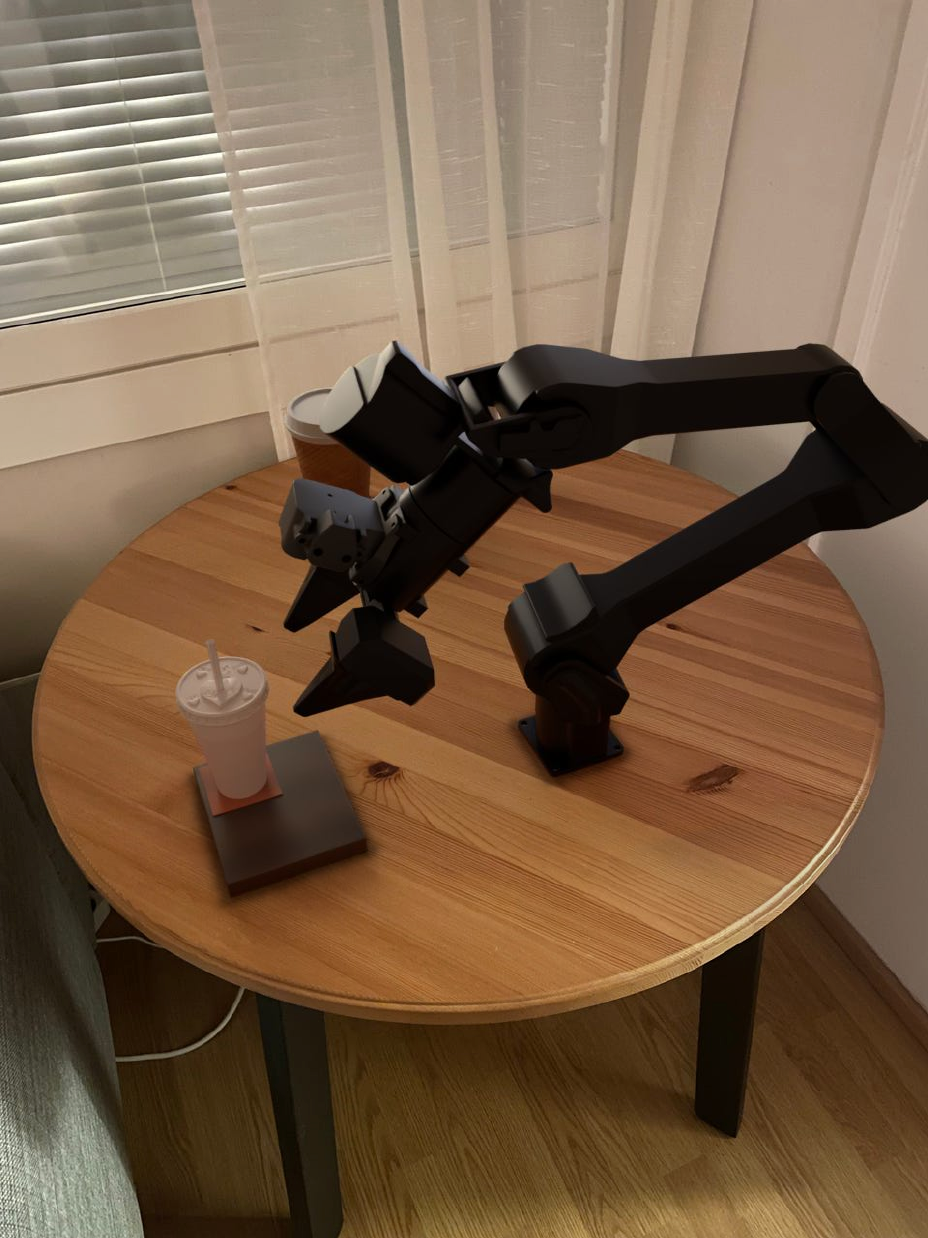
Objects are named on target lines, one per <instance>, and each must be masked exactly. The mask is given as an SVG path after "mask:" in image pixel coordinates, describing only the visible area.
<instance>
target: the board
mask: <svg viewBox="0 0 928 1238" xmlns="http://www.w3.org/2000/svg"><path fill="white" fill-rule="evenodd" d="M266 769H267V779H266V783H265V785H264V786H263V788H262V789H261V790H260V791H259V792H257V793H256V794H254V795H252V796H250V797H247V798H242V799H233V798H229V797H226V796H224V795H223V794H222V793H221V792H220V791H219V789H218V787H217V785H216V783H215V780H214V778H213V776H212V774H211V771H210V769H209V767H208V765H207V762H205V763H201V764H198V765H196V766H193V767H192V770H193V774H194V777H195V782H196V786H197V788H198V791H199V794H200V799H201V802H202V805H203V808H204V812H205V816H206V819H207V822H208V824H209V829H210V832H211V836H212V839H213V842H214V846H215V850H216V852H217V856H218V859H219V863H220V866H221V869H222V874H223V876H224V880H225V883H226V887H227V890H228V894H229V897H230V898H234V897H237V896H240V895H243V894H245V893H249V892H251V891H254V890H258V889H260V888H263V887H266V886H270V885H272V884H276V883H278V882H282V881H284V880H286V879H290V878H293V877H295V876H299V875H302V874H304V873H308V872H310V871H313V870H316V869H319V868H322V867H325V866H327V865H331V864H333V863H337V862H339V861H342V860H345V859H349V858H351V857H354V856H357V855H360V854H363V853H366V852H368V843H367V836H366V834H365V832H364V829H363V828H362V825H361V823H360V820H359V819H358V816H357V813H356V812H355V810H354V807H353V805H352V803H351V801H350V799H349V796H348V793H347V791H346V789H345V787H344V785H343V783H342V780H341V778H340V776H339V773H338V772H337V769H336V767H335V764H334V763H333V760H332V759H331V756H330V753H329V751H328V749H327V748H326V745H325V743H324V740H323V738H322V736H321V734H320V731H319V730H317V729H316V730H313V731H309V732H306V733H302V734H299V735H297V736H296V735H295V736H293V737H289V738H286V739H283V740H279V741H276V742H273V743H269V744H266Z"/></svg>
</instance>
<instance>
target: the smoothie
mask: <svg viewBox="0 0 928 1238" xmlns="http://www.w3.org/2000/svg"><path fill="white" fill-rule="evenodd" d="M205 644H206V649H207V654H208V658H209V659H207V660H205V661H202V662H200V663H197V664H196V665H194V666H192V667H190V669H188V670H187V671H186V672H185V673H184V674H183V675H182V676H181V677H180V678H179V680H178V681H177V684H176V687H175V690H174V691H175V692H174V694H175V700H176V707H177V709H178V711H179V713H180V715H181V716H182V717H184V718H185V719H186V720H187V722H188V724H189V726H190V729H191V730H192V733H193V735H194V738H195V740H196V743H197V744H198V747H199V748H200V751H201V754H202V756H203V758H204V760H205V763H207V765H208V767H209V769H210V771H211V774H212V776H213V778H214V780H215V783H216V785H217V787H218V789H219V791H220V792H221V793H222V794H223V795H224V796H226V797H229V798H233V799H242V798H247V797H250V796H252V795H254V794H256V793H257V792H259V791H260V790H261V789H262V788H263V786H264V785H265V783H266V779H267V769H266V745H267V730H266V729H267V726H266V725H267V724H266V701H267V700H268V698H269V692H270V686H269V685H270V684H269V681H268V679H267V675H266V672H265V670H264V669H263V667H262V666H261V665H259V664H258V663H257V662H255V661H253V660H251V659H248V658H245V657H240V656H218V651H217V646H216V642H215V639H213V638H207V640H206V641H205Z"/></svg>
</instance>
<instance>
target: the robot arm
mask: <svg viewBox="0 0 928 1238" xmlns="http://www.w3.org/2000/svg"><path fill="white" fill-rule="evenodd" d="M332 387H333V389H332V390H331V392H330V394H329V396H328V398H327V400H326V402H325V404H324V406H323V409H322V412H321V416H320V423H319V426H320V430H321V431H322V432H323V433H324V434H326V435H327V436H328V437H330V438H331V439H333V440H334V441H336V442H337V443H338V444H340V445H341V446H343V447H344V448H345V449H347V450H348V451H350V452H351V453H352V454H354V455H355V456H357V457H358V458H360V459H361V460H362V461H364V462H365V463H367V464H368V465H369V466H371V469H373V470H375V471H376V472H378V473H379V474H380V475H382V476H383V477H385V478H386V479H388V480H389V481H391V482H392V485H391V487H387V486H386V487H384V488H383V489H382V490H381V491H380V492H379V493H378V494H377V495H376V496H375V497H373V498H369V499H368V498H365V497H362V496H359V495H358V494H356V493H354V492H352V491H349V490H347V489H341V488H338V487H334V486H330V485H326V484H323V483H319V482H315V481H311V480H308V479H303V478H302V477H301V478H300V477H299V478H294V480H293V482H292V483H291V486H290V489H289V492H288V495H287V497H286V500H285V502H284V506H283V508H282V511H281V513H280V516H279V518H278V521H277V522H278V527H279V528H280V536H281V540H280V546H281V547H280V548H281V549H282V551H283V553H285V554H286V555H288V556H289V557H291V558H293V559H296V560H299V561H306V560H307V561H308V562H309V564H310V566H309V568H308V570H307V573H306V575H305V576H304V579H303V580H302V583H301V585H300V587H299V590H298V591H297V593H296V596H295V598H294V599H293V602H292V604H291V606H290V608H289V610H288V612H287V614H286V616H285V618H284V620H283V624H282V625H283V628H284V629H285V630H287V631H289V632H290V633H297V632H299V631H301V630H303V629H305V628H307V627H309V626H311V625H312V624H314V623H315V622H317V621H318V620H320V619H322V618H323V617H325V616H326V615H328V614H329V613H331V612H332V611H334V610H335V609H338V608H339V607H341V606H342V605H344V604H345V603H347V602H348V601H350V600H352V599H353V598H355V597H357V596H358V595H359V596H360V600H361V606H359V607H352V608H351V609H350V610H349V611H348V612H347V613H346V614H345V615H344V616H343V617H342V619H341V620H340V623H339V624H338V627H337V630H336V632H335V631H333V630H331V629H330V630H329V631H328V637H329V638H328V639H329V646H330V657H329V658H328V659H327V660H326V662H325V663H324V664H323V666H322V667H321V668H320V669H319V671H318V672H317V673H316V674H315V675H314V677H313V678H312V680H311V681H310V682H309V683H308V684H307V686H306V687H305V689H304V690H303V691H302V692H301V694H300V695H299V697H298V698H297V700H296V701H295V703H294V704H293V706H292V712H293V713H294V714H296V715H298V716H300V717H302V718H308V717H312V716H315V715H318V714H321V713H326V712H328V711H332V710H335V709H339V708H342V707H346V706H349V705H352V704H356V703H360V702H364V701H367V700H373V699H379V698H383V697H389V698H391V699H393V700H395V701H396V702H401V703H404V704H405V705H407V706H408V707H412V706H415V705H417V704H418V703H419V702H420V701H421V700H422V699H423V698H424V697H425V696H426V695H427V694H428V693H429V692H430V691H432V689H433V688H435V686H436V673H435V672H436V671H435V667H434V664H433V661H432V657H431V653H430V649H429V646H428V644H427V643H428V642H427V640H426V637H425V635H423V634H422V633H420V632H418V631H416V630H415V629H413V628H412V627H410V626H408V625H407V624H405V623H403V622H402V621H401V620H400V617H399V613H402V612H403V611H405V612H406V613H408V614H410V615H412V616H413V617H414V618H416V619H419V618H421V617H422V616H423V615H424V614H425V613H426V612H427V611H428V610H429V606H428V603H427V601H426V596H425V595H426V594H427V592H428V591H429V590H431V589H432V588H433V586H435V585H436V583H438V582H439V581H440V579H442V578H443V576H445V574H447V573H448V571H449V572H451V573H452V574H454V575H455V576H457V577H458V578H461V577H462V576H463V575H464V574H465V573H466V572H467V571H468V570H469V569H470V568H471V566H470V563H469V560H468V558H467V555H466V553H467V552H469V551H470V549H472V547H473V546H474V545H475V544H477V542H478V541H479V540H480V539H482V538H483V537H484V535H486V534H487V533H488V531H489V530H490V529H491V528H493V526H495V524H496V523H497V522H498V521H499V520H500V519H501V518H502V517H503V516H505V514H506V513H507V512H508V511H509V510H510V509H511V508H512V507H513V506H515V504H516V503H517V502H519V500H520V499H521V498H523V499H524V500H525V501H527V502H528V503H529V504H531V505H532V506H533V507H534V508H536V509H537V510H539V512H541V513H543V514H548V513H550V512H551V511H552V508H553V505H552V504H553V503H552V494H551V493H552V492H551V485H552V484H551V483H552V479H553V476H554V473H553V470H555V471H557V470H562V469H567V468H571V467H574V466H575V467H576V466H579V465H583V464H587V463H591V462H595V461H598V460H603V459H607V458H609V457H611V456H612V455H614V454H616V453H617V452H619V451H620V450H621V449H623V448H624V447H626V446H627V445H630V444H631V443H632V442H634V441H638V440H641V439H645V438H649V437H655V436H656V437H657V436H667V435H677V434H678V435H679V434H689V433H699V432H700V433H701V432H711V431H712V432H713V431H724V430H733V429H744V428H745V429H746V428H756V427H767V426H778V425H789V424H799V423H810V424H811V426H812V427H813V428H814V430H813V431H811V432H810V433H809V434H807V435H806V437H804V439H803V440H802V442H801V444H800V445H799V447H798V448H797V450H796V451H795V453H794V454H793V456H792V457H791V459H790V460H789V462H788V464H787V465H786V467H785V469H784V470H783V471H781V472H780V473H779V474H777V475H775V476H774V477H772V478H770V479H769V480H766V481H765V482H764V483H761V484H760V485H759V486H756V487H755V488H753V489H750V490H749V491H748V492H746V493H744V494H742V495H741V496H738V497H737V498H735V499H733V500H732V501H730V502H728V503H727V504H725V505H722V506H721V507H719V508H718V509H715V510H714V511H713V512H710V513H709V514H708V515H705V516H704V517H702V518H700V519H698V520H697V521H695V522H693V523H691V524H689V525H687V526H686V527H684V528H683V529H680V530H679V531H677V532H676V533H674V534H672V535H670V536H668V537H667V538H665V539H663V540H662V541H660V542H658V543H656V544H655V545H653V546H652V547H649V548H648V549H646V550H644V551H643V552H640V553H639V554H637V555H635V556H634V557H632V558H630V559H628V560H626V561H625V562H623V563H622V564H619V565H618V566H616V567H614V568H613V569H611V570H608V571H605V572H602V573H583V574H581V573H580V574H579V572H578V570H577V567H576V565H575V564H574V563H573V561H569V562H565V563H562V564H560V565H558V566H557V567H555V569H553V570H552V571H551V572H549V573H548V574H547V575H545V576H543V577H542V578H539V579H537V580H535V581H531V582H526V583H523V584H522V589H523V591H524V592H522V593H520V594H519V595H518V596H516V597H515V598H514V599H512V601H510V603H509V604H508V606H507V611H506V614H505V617H504V620H503V630H504V632H505V635H506V638H507V640H508V643H509V646H510V648H511V651H512V653H513V656H514V658H515V661H516V663H517V666H518V668H519V671H520V673H521V677H522V679H523V681H524V684H525V686H526V688H527V689H528V690H529V691H530V692H531V693H532V694H534V695H535V697H534V698H535V702H534V715H531V716H527V717H525V718H522V719H520V720H519V721H518V722H517V728H518V730H519V731H520V733H521V734H522V736H523V737H524V740H526V742H527V743H528V745H529V747H530V748H531V749H532V751H533V752H534V755H535V756H536V757H537V759H538V760H539V762H540V763H541V765H542V766H543V767H544V768H545V769H544V770H546V772H547V773H548V775H549V776H551V777H553V778H557V777H562V776H564V775H567V774H570V773H573V772H576V771H579V770H581V769H585V768H588V767H590V766H594V765H597V764H600V763H603V762H605V761H608V760H611V759H614V758H618V757H620V756H622V755H623V754H624V750H625V747H624V745H623V744H622V743H621V742H620V740H619V739H618V738H617V736H616V735H615V733H613V731H612V730H611V728H610V725H611V717H614V716H619V715H621V714H622V711H623V709H624V707H625V706H626V704H627V702H628V700H629V698H630V696H631V693H630V692H629V690H628V687H627V686H626V684H625V682H624V680H623V678H622V675H621V673H620V672H619V670H618V666H619V665H620V663H621V662H622V660H623V659H624V657H625V656H626V654H627V653H628V651H629V650H630V648H631V646H632V645H633V644H634V642H635V641H636V639H637V637H638V636H639V635H640V634H641V633H642V632H643V631H645V630H646V629H649V628H650V627H652V626H653V625H656V624H657V623H659V622H660V621H662V620H664V619H666V618H667V617H670V616H671V615H673V614H675V613H676V612H678V611H680V610H682V609H684V608H686V607H688V606H689V605H691V604H693V603H695V602H696V601H698V600H700V599H701V598H704V597H705V596H707V595H709V594H711V593H712V592H715V591H716V590H718V589H720V588H722V587H723V586H725V585H727V584H729V583H730V582H732V581H734V580H736V579H737V578H739V577H741V576H743V575H744V574H746V573H749V572H750V571H752V570H754V569H755V568H757V567H759V566H761V565H763V564H764V563H766V562H768V561H770V560H772V559H774V558H776V557H777V556H779V555H781V554H783V553H784V552H786V551H788V550H790V549H791V548H793V547H795V546H797V545H799V544H801V543H802V542H804V541H806V540H807V539H809V538H811V537H813V536H815V535H818V534H820V533H825V532H826V533H827V532H841V531H856V530H868V529H872V528H874V527H876V526H879V525H881V524H884V523H887V522H888V521H891V520H894V519H896V518H898V517H901V516H904V515H906V514H908V513H911V512H914V511H915V510H916V509H918V508H919V507H921V506H922V505H924V504H925V503H926V502H928V438H927V436H925V435H924V434H922V433H921V432H920V431H919V430H918V429H916V428H915V427H914V426H912V425H911V424H910V423H909V422H908V421H907V420H905V419H904V418H903V417H902V416H900V415H899V414H898V413H897V412H895V411H894V410H893V409H892V408H890V407H889V406H888V405H886V404H885V403H883V402H881V401H880V400H879V398H877V397H876V395H875V394H874V393H873V392H872V390H871V389H870V387H868V385H867V384H866V382H865V381H864V377H863V376H862V373H861V372H860V370H858V369H857V368H856V367H855V366H853V365H852V363H850V362H849V361H848V360H846V359H845V358H844V357H842V356H841V355H840V354H838V353H837V352H836V351H835V350H834V349H832V348H831V347H829V345H826V344H821V343H811V342H808V343H804V344H801V345H798V346H797V347H796V348H790V349H789V348H787V349H774V350H762V351H761V350H760V351H748V352H735V353H722V354H721V353H720V354H708V355H695V356H683V357H671V358H658V359H657V358H656V359H643V360H636V359H627V358H622V357H621V358H620V357H617V356H613V355H611V354H607V353H603V352H600V351H597V350H592V349H590V348H585V347H575V346H565V345H556V344H555V345H554V344H545V343H535V344H531V345H527V346H523V347H520V348H518V349H516V350H515V351H513V352H512V354H511V356H510V357H509V359H508V360H505V361H502V362H498V363H494V364H488V365H484V366H482V367H481V366H480V367H478V368H477V367H476V368H473V369H469V370H465V371H459V372H456V373H452V374H448V375H446V376H444V377H443V379H442V380H441V379H440V378H439V377H437V376H436V375H435V374H433V373H432V372H430V371H429V370H428V369H427V368H426V367H424V366H423V365H422V364H421V363H420V362H419V361H418V360H417V359H416V358H415V356H414V355H413V353H412V352H411V351H410V350H409V349H408V348H407V347H405V346H404V345H402V344H401V343H400V342H399V341H398V340H391V341H390V342H389V343H388V344H387V346H385V348H384V349H383V350H382V351H381V352H377V353H372V354H369V355H368V356H365V357H364V358H362V359H361V360H360V361H359V362H358V363H357V364H355V365H350V366H349V367H348V368H347V369H345V371H344V372H343V373H342V375H341V376H340V377H339V378H338V380H337V381H336V383H335V384H334V385H333V386H332ZM488 407H495V408H496V410H497V413H498V417H500V418H499V419H497V420H494V418H493V416H492V414H491V412H490V410H489V408H488ZM393 483H394V484H393ZM404 483H406V484H407V487H406V488H405V489H404V490H402V489H401V488H400V487H398V486H397V485H396V484H404Z"/></svg>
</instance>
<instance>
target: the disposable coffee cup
mask: <svg viewBox="0 0 928 1238" xmlns="http://www.w3.org/2000/svg"><path fill="white" fill-rule="evenodd" d="M333 387H334V386H327V387H319V388H314V389H310V390H307V391H304V392H302V393H299V394H298V395H296V396H294V397H293V398H292V399H291V400H290V401H289V402H288V404H287V407H286V413H285V414H284V418H283V423H284V426H285V428H286V429H287V431H288V433H289V434H290V436H291V440H292V443H293V447H294V451H295V455H296V458H297V462H298V466H299V470H300V473H301V478H303V479H308V480H311V481H315V482H319V483H323V484H326V485H330V486H334V487H338V488H341V489H347V490H349V491H352V492H354V493H356V494H358V495H359V496H362V497H365V498H368V499H370V491H371V489H370V488H371V474H372V473H371V472H372V471H371V470H372V467H371V466H369V465H368V464H367V463H365V462H364V461H362V460H361V459H360V458H358V457H357V456H355V455H354V454H352V453H351V452H350V451H348V450H347V449H345V448H344V447H343V446H341V445H340V444H338V443H337V442H336V441H334V440H333V439H331V438H330V437H328V436H327V435H326V434H324V433H323V432H322V431H321V430H320V426H319V423H320V416H321V412H322V409H323V406H324V404H325V402H326V400H327V398H328V396H329V394H330V392H331V390H332V389H333Z"/></svg>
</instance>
